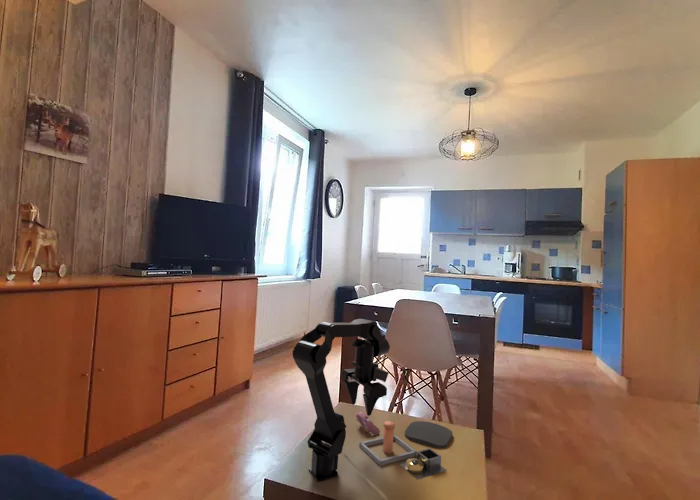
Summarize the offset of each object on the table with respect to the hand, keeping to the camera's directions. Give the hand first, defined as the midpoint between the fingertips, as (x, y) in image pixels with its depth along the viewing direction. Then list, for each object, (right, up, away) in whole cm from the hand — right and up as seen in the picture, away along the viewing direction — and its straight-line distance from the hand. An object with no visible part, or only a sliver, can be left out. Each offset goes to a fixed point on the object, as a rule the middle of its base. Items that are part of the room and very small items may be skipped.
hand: (361, 409), depth 114 cm
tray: (+8, -14, -1) cm, 16 cm away
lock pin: (+8, -13, -1) cm, 15 cm away
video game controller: (+2, -14, +14) cm, 20 cm away
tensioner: (+17, -14, -8) cm, 24 cm away
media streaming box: (+24, -15, +11) cm, 30 cm away
